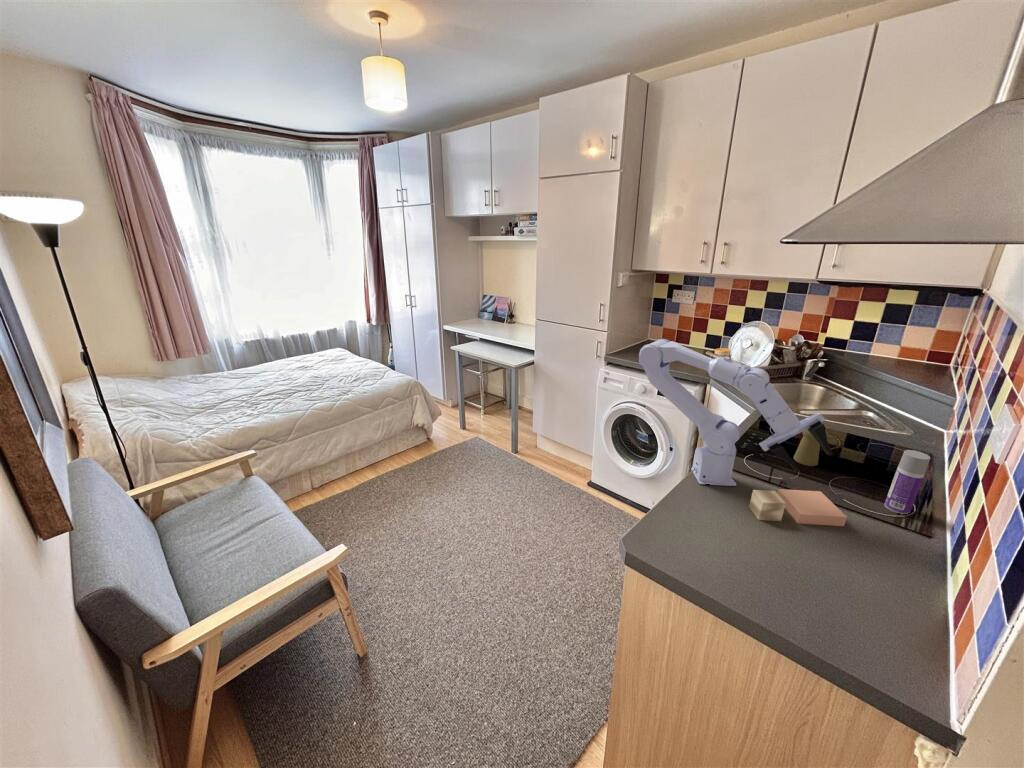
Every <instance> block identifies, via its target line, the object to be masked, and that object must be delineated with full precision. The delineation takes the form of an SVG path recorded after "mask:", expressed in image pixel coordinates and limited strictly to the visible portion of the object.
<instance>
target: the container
mask: <svg viewBox="0 0 1024 768" xmlns="http://www.w3.org/2000/svg"><path fill="white" fill-rule="evenodd" d="M930 460H931V456H930V455H928V454H927V453H924V452H922V451H919V450H914V449H912V450H911V449H905V450H904V451H903V453H902V456H901V459H900V460H899V463H898V465H897V468H896V471H895V473H894V476H893V479H892V482H891V485H890V488H889V490H888V493H887V495H886V499H885V501H884V504H883V505H884V507H885V508H886V509H887V510H889V511H890V512H892V513H896V514H898V513H900V515H903V514H907V515H909V514H910V513H911V511H912V508H913V505H914V504H915V501H916V498H917V496H918V492H919V490H920V487H921V485H922V483H923V480H924V478H925V474H926V472H927V469H928V465H929V464H930ZM908 513H909V514H908Z"/></svg>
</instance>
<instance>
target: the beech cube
mask: <svg viewBox="0 0 1024 768" xmlns="http://www.w3.org/2000/svg"><path fill="white" fill-rule="evenodd" d="M777 493H778V492H776V490H768V489H767V490H765V489H752V493H751V497H750V501H749V506H748V507H749V508H750V510H751V512H752V513H753V514H754V515H755V517H756V518H757V519H758V520H759V521H769V522H771V521H773V522H782V519H783V515H784V511H785V505H786V503H785V502H784V501H783V500H782V499H781V497H780V496H779V495H778V494H777Z"/></svg>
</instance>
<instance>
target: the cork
mask: <svg viewBox="0 0 1024 768" xmlns="http://www.w3.org/2000/svg"><path fill="white" fill-rule="evenodd" d="M801 434H802V438H801V440H800V442H799V444H798V447H797V448H796V451H795V453H794V455H793V459H794V461H795V462H797V463H798V464H802V465H803V466H809V467H816V466H818V465H819V457H820V456H819V455H820V449H821V446H820V444H819V443H818V441H817V440H816V439H815V438H814V437H813V435H812V434H811V433H810V432H809V431H808V430H807V429H806V430H804V431H802V432H801Z"/></svg>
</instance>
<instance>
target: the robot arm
mask: <svg viewBox="0 0 1024 768" xmlns="http://www.w3.org/2000/svg"><path fill="white" fill-rule="evenodd" d="M731 359H732V357H729V356H724V357H722V356H719V357H716V358H711V357H710V356H708V355H704V354H702V353H700V352H698V351H695V350H694V349H691V348H689V347H686V346H683V345H681V344H680V343H677V342H676V341H673V340H672V341H670V340H669V339H666V338H660V339H656V340H655V341H653V342H651V343H649V344H644V345H643V346H642V347H641V348H640V349H639V353H638V364H639V365H640V366H642V368H643V370H644V372H645V374H646V378H647V380H648V381H649V384H651V386H653V387H654V388H655V389H657V390H658V391H659V393H661V394H662V395H663V397H665V398H666V399H667V400H668V401H669V402H670V403H672V405H673V406H674V407H675V408H677V409H678V410H679V412H680V413H682V414H683V415H685V417H686V418H687V419H688V420H689V421H691V422H692V423H693V424H694V425H695V426H696V427H697V430H698V434H699V436H700V438H701V439H702V440H703V441H704V442H705V445H704V446H699V447H698V446H697V447H696V448H695V451H694V455H693V461H692V467H691V468H690V470H691V472H692V471H693V470H694V469H695V470H694V471H693V472H692V474H693V475H694V477H695V478H696V480H697V482H698V483H699V484H700V485H705V484H710V485H709V486H725V487H726V486H728V487H732V486H733V487H737V483H736V481H735V480H734V479H733V477H732V474H733V468H734V464H735V461H736V460H735V459H736V456H737V455H736V454H737V448H736V444H735V443H737V442H738V441H739V440H740V438H741V436H742V430H741V428H740V426H739V425H738V424H736V423H735V422H734V421H731V420H729V419H726V418H725V417H724V416H722V415H720V414H716V413H713V412H712V411H711V410H710V409H709V407H707V406H705V404H704V403H702V402H701V401H700V399H698V398H696V397H695V396H694V394H693V393H691V392H690V391H689V390H688V389H687V388H686V387H684V385H682V384H681V383H680V382H679V381H678V380H677V379H675V377H673V376H672V375H671V374H670V364H671V363H673V362H680V363H683V364H685V365H689V366H692V367H695V368H698V369H701V370H705V371H706V372H707V374H708V375H709V377H710V378H712V379H715V380H717V381H718V382H722V383H725V384H727V385H730V386H733V387H735V388H739V389H738V391H739V392H740V393H741V394H742V395H744V396H746V397H749V399H750V400H751V401H752V402H753V404H754V406H755V407H756V409H757V410H758V411H759V413H760V414H761V415H762V416H763V418H764V420H765V421H766V423H767V424H768V425H769V426H770V428H771V429H772V430H773V432H774V434H772V435H770V436H769V437H768V438H766V439H764V440H762V441H760V442H759V443H758V445H759V446H760V448H761V449H762V451H764V452H767V451H770V452H772V453H773V454H775V455H776V456H778V457H779V458H780V459H782V460H783V461H784V462H786V463H787V465H789V466H790V467H791V468H792V470H794V471H795V472H800V471H801V470H800V468H799V467H798V466H797V464H796V463H795V462H794V461H793V459H792V458H791V456H790V455H789V453H788V452H787V450H786V448H785V447H783V446H782V445H781V443H783V442H785V441H787V440H789V439H790V438H792V437H795V436H797V435H799V434H800V433H802V431H804V430H806V429H807V430H808V431H809V432H810V433H811V434H812V435H813V437H814V438H815V439H816V440H817V441H818V443H819V444H820V448H821V449H822V450H823V452H824V453H825V455H827V456H832V455H834V453H833V452H832V451H833V450H832V449H831V447H830V445H829V442H828V437H827V430H826V426H825V424H824V423H823V422H826V418H825V417H824V415H822V413H820V412H816V413H814V414H812V415H810V416H808V417H806V418H804V419H801V420H800V419H798V417H797V416H796V415H795V413H794V412H793V410H792V409H791V408H790V406H789V405H788V404H787V402H786V401H785V399H783V397H782V395H781V394H780V393H779V392H778V391H777V390H776V388H775V387H774V385H773V384H772V382H770V375H769V373H768V372H767V371H766V370H765V369H763V368H761V367H760V366H751V365H750V364H745V365H744V364H741V363H739V362H737V361H736V362H735V361H734V360H731Z"/></svg>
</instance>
